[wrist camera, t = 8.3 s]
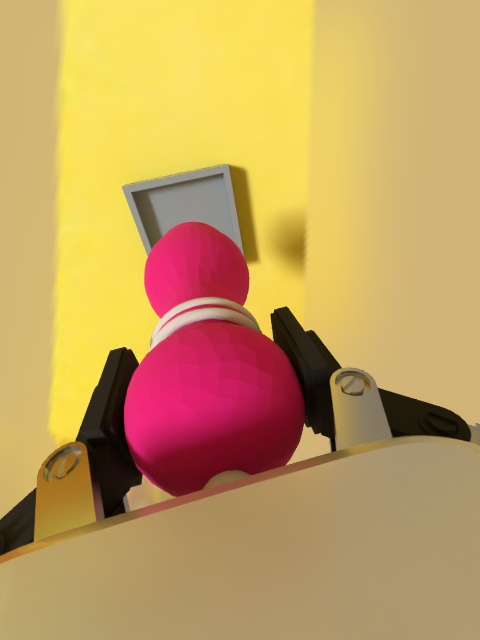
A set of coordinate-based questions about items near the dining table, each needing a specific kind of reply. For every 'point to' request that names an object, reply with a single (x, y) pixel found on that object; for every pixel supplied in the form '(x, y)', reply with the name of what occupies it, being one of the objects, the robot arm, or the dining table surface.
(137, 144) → the dining table surface
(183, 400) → the pepper mill
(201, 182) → the tray
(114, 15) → the dining table surface
